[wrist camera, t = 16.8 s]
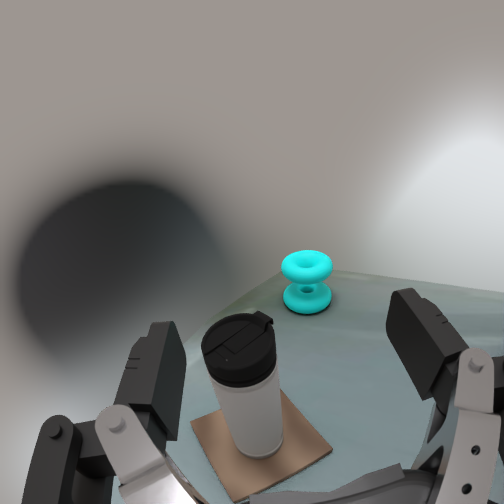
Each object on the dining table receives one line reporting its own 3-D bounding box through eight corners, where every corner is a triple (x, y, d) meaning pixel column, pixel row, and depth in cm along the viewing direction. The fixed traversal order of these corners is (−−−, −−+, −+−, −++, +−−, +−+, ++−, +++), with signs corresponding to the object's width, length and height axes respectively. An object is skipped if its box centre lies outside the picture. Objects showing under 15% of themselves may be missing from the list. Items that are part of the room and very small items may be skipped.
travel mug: (295, 436, 31) (294, 328, 22) (258, 468, 28) (230, 376, 19) (262, 411, 36) (243, 299, 27) (225, 439, 32) (183, 334, 23)
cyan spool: (343, 261, 52) (300, 279, 49) (340, 304, 57) (301, 323, 53) (312, 243, 60) (271, 257, 57) (312, 282, 65) (274, 298, 61)
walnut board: (276, 387, 41) (275, 383, 40) (331, 451, 29) (332, 448, 29) (191, 425, 35) (189, 421, 35) (234, 503, 24) (233, 501, 23)
